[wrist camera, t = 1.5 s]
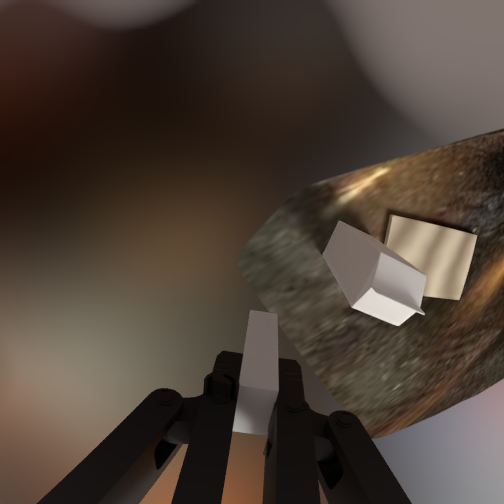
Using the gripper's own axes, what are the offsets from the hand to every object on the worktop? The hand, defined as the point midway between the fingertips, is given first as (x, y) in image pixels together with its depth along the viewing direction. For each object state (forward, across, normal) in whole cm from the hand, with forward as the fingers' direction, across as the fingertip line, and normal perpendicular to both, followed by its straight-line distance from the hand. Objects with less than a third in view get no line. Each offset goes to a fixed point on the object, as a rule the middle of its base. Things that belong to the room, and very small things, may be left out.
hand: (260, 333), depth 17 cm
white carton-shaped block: (+29, +12, 0) cm, 32 cm away
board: (+29, +27, 0) cm, 40 cm away
